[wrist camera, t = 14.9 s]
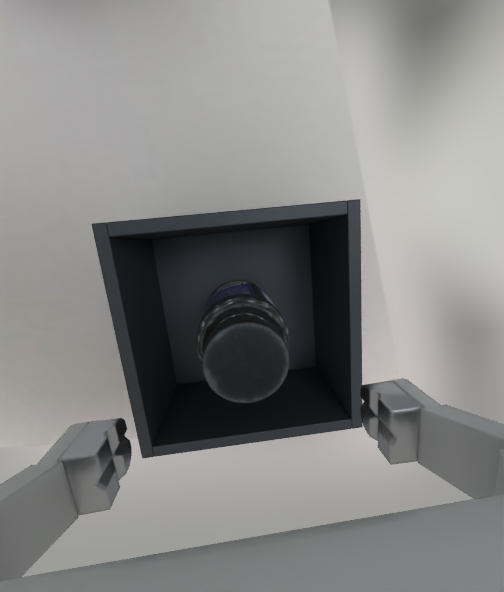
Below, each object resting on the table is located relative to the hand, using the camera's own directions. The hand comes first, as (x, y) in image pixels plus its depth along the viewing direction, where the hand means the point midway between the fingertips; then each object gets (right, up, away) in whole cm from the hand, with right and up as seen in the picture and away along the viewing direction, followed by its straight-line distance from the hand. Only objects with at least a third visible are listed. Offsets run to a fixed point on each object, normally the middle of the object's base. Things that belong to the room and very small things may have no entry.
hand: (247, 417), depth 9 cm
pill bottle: (-1, +3, +16) cm, 16 cm away
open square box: (-1, +3, +16) cm, 17 cm away
